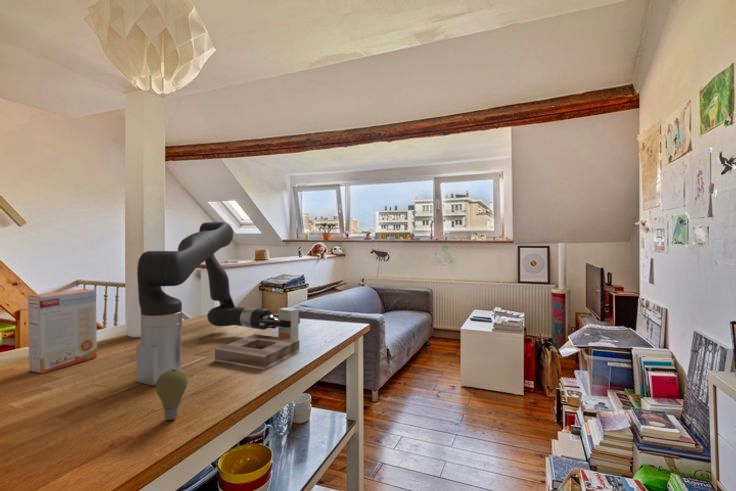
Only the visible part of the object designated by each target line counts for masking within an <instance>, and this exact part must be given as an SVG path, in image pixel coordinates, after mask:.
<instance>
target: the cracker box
mask: <svg viewBox="0 0 736 491" xmlns="http://www.w3.org/2000/svg"><path fill="white" fill-rule="evenodd" d="M27 317H28V320H27V321H28V324H27V325H28V370H29V372H32V373H37V374H41V375H42V374H46V373H48V372H52V371H57V370H58V369H62V368H65V367H69V366H72V365H75V364H80V363H82V362H86V361H89V360H94V359H96V358H98V357H97V356H98V354H97V352H98V343H97V342H98V341H97V338H98V336H97V332H98V331H97V330H98V329H97V290H96V289H89V288H83V289H82V288H81V289H73V290H66V291H57V292H56V291H55V292H50V293H49V292H48V293H46V292H45V293H40V294H32V295H31V294H30V295H28V296H27Z"/></svg>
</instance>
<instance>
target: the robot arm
mask: <svg viewBox="0 0 736 491" xmlns="http://www.w3.org/2000/svg"><path fill="white" fill-rule="evenodd" d="M198 229H199V230H198V232H195V233H192V234H190V235H187V236H186V237H184V238H183V239H182V240H181V241H180V242H179V244H178V248H177V250H149V251H148V250H147V251H144V252H143V253H142V254H141V255H139V256H140V258H139V261H138V267H137V266H136V278H138V294H139V304H140V308H141V337H140V343H138V344H136V383H140V384H145V385H148V386H156V382H157V380H158V378H159V377H160V376H161V375H162V374H163V373H164V372H166V371H168V370H171V369H177V370H180V371H182V359H183V358H182V356H183V355H182V354H183V353H182V343H183V341H182V339H183V338H182V337H183V336H182V334H183V333H182V331H183V330H182V329H183V322H182V321H183V320H182V319H183V318H182V317H183V311H182V310H183V303H182V300H180V298H176V297H174V296H171V295H169V294H167V293H166V292H164V291H163V289H162V287H176V286H180V285H182V284H184V283H185V282H186V281H187V280H188V279H189V278H190V277H191V275H192V274H193V273H194V272H195V270H196V269H197V268H198V267H199V266H200V265H201V264H203V263H205V267H206V268H205V269H206V272H207V276H208V285H209V295H210V300H212V301H215V302H219V305H218V306H215V307H212V308H211V309H210V310H209V311H208V312H207V321H208V323H209V324H211V325H212V326H214V327H232V326H237V327H245V328H248V329H255V330H262V331H263V330H264V331H265V330H267V329H276V328H279V327H286V328H289V327H291V322H290V321H285V320H279V313H272V311H271V310H270V309H268V308H258V307H243V306H237V307H236V306H235V302H234V301H233V298H232V296H231V293H230V291H231V290H230V289H231V288H230V280H229V276H228V274H227V272H226V269H224V267H223V266H222V265H221V264H220V262H219V260H218V259H217V257H216V255H215V253H217V252H218V251H220V249H223V248H225V247H227V246H229V245H230V244H231V242H232V241H233V238H234V230H233V227H232V225H231V224H230V223H228V222H226V221H209V222H203V223H201V224H200V226H199V228H198ZM300 323H301V319H300V317H299V322H298V325H299V324H300Z"/></svg>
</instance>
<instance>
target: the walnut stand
mask: <svg viewBox="0 0 736 491" xmlns="http://www.w3.org/2000/svg"><path fill="white" fill-rule="evenodd" d="M298 352H300V339H298V340H295V339H288V338H280V337H278V336H271V335H264V334H256V333H254V334H251V335H249V336H246V337H244V338H240V339H238V340H235V341H233V342H230V343H228V344H225V345H222V346H219V347H216V348H215V349H214V362H217V363H218V362H220V363H224V364H225V363H226V364H229V365H230V364H231V365H236V366H241V367H247V368H252V369H257V370H263V371H264V370H266V369H268V368H270V367H273V366H274V365H276V364H278V363H279V362H281V361H283V360H286V359H287V358H289V357H290V356H293V355H294V354H296V353H298Z"/></svg>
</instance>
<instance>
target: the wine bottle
mask: <svg viewBox="0 0 736 491" xmlns="http://www.w3.org/2000/svg"><path fill="white" fill-rule="evenodd" d="M140 256H141V255H137V256H136V262H137V264H136V268H137V267H138V261H139V258H140ZM126 335H127V337H130V338H141V308H140V304H139V294H138V278H137V277H136V279H135V281H134V284H133V287H132V290H131V293H130V295H129V298H128V300H127V303H126Z"/></svg>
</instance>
